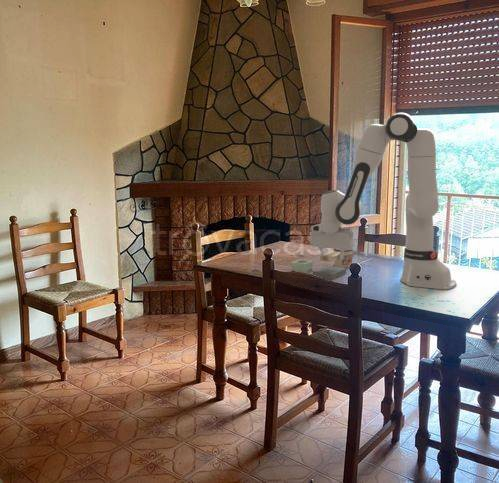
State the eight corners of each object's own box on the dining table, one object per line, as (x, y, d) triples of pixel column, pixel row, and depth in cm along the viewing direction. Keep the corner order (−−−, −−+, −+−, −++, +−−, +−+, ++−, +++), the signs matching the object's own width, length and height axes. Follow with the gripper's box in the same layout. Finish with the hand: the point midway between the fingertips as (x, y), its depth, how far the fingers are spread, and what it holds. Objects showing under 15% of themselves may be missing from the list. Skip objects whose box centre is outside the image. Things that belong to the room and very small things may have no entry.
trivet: (346, 273, 237) (346, 268, 237) (332, 279, 227) (332, 274, 226) (326, 270, 243) (326, 265, 242) (312, 276, 233) (312, 271, 232)
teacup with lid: (343, 269, 244) (344, 245, 242) (329, 266, 251) (329, 242, 249) (360, 265, 252) (361, 241, 249) (345, 262, 259) (346, 239, 256)
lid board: (343, 257, 235) (343, 252, 235) (333, 261, 228) (333, 257, 227) (330, 255, 239) (330, 251, 239) (320, 260, 231) (319, 256, 231)
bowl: (312, 270, 243) (312, 261, 243) (304, 273, 238) (304, 264, 237) (299, 268, 248) (299, 259, 247) (291, 271, 242) (291, 262, 241)
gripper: (356, 227, 227) (356, 258, 230) (314, 224, 239) (315, 254, 242) (349, 229, 222) (350, 261, 225) (307, 226, 234) (308, 256, 237)
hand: (331, 257), depth 233 cm, fingers closed on lid board, 6 cm apart
